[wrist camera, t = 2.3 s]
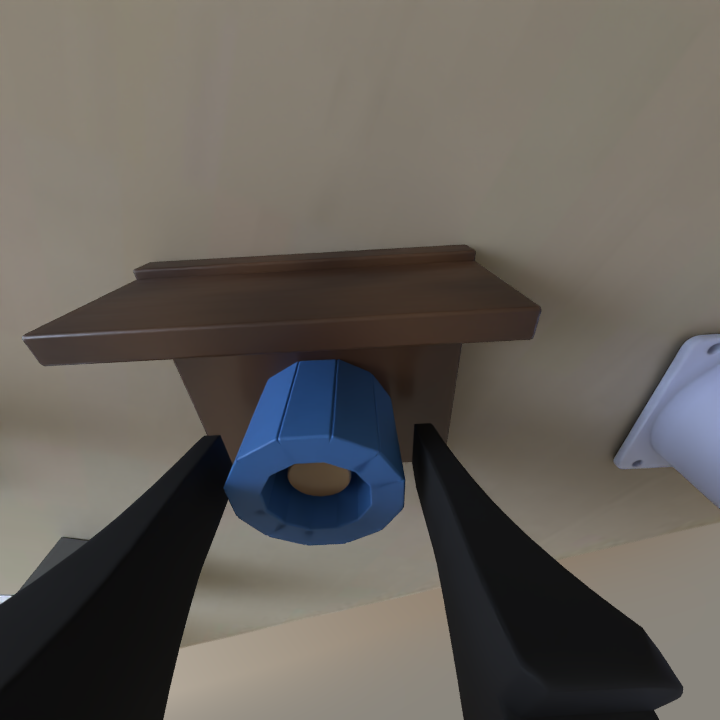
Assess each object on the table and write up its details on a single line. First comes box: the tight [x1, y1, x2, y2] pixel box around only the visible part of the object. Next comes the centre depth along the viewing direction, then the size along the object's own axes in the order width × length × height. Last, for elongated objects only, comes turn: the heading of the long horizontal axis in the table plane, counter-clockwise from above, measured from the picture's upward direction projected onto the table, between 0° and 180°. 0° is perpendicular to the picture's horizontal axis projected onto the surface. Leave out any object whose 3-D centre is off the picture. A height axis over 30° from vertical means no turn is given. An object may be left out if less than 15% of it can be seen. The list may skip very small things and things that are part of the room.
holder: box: [22, 245, 541, 496], centre depth 11 cm, size 11×10×5 cm
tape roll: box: [224, 359, 405, 545], centre depth 11 cm, size 6×6×4 cm
